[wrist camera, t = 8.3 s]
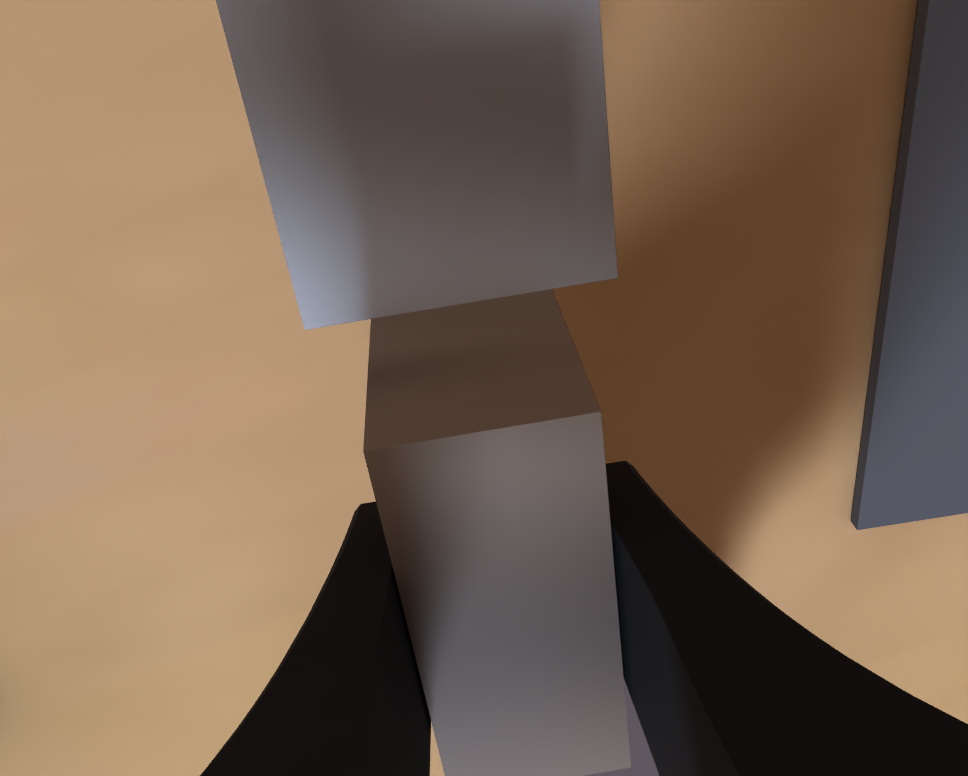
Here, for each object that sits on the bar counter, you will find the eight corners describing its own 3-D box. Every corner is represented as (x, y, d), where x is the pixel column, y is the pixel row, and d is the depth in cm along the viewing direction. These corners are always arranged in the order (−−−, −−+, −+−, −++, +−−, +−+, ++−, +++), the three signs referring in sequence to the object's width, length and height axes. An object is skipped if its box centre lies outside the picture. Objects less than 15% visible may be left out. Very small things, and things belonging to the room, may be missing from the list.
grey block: (630, 568, 16) (696, 756, 12) (386, 609, 16) (384, 809, 12) (580, -126, 10) (673, -138, 7) (208, -66, 10) (114, -47, 7)
